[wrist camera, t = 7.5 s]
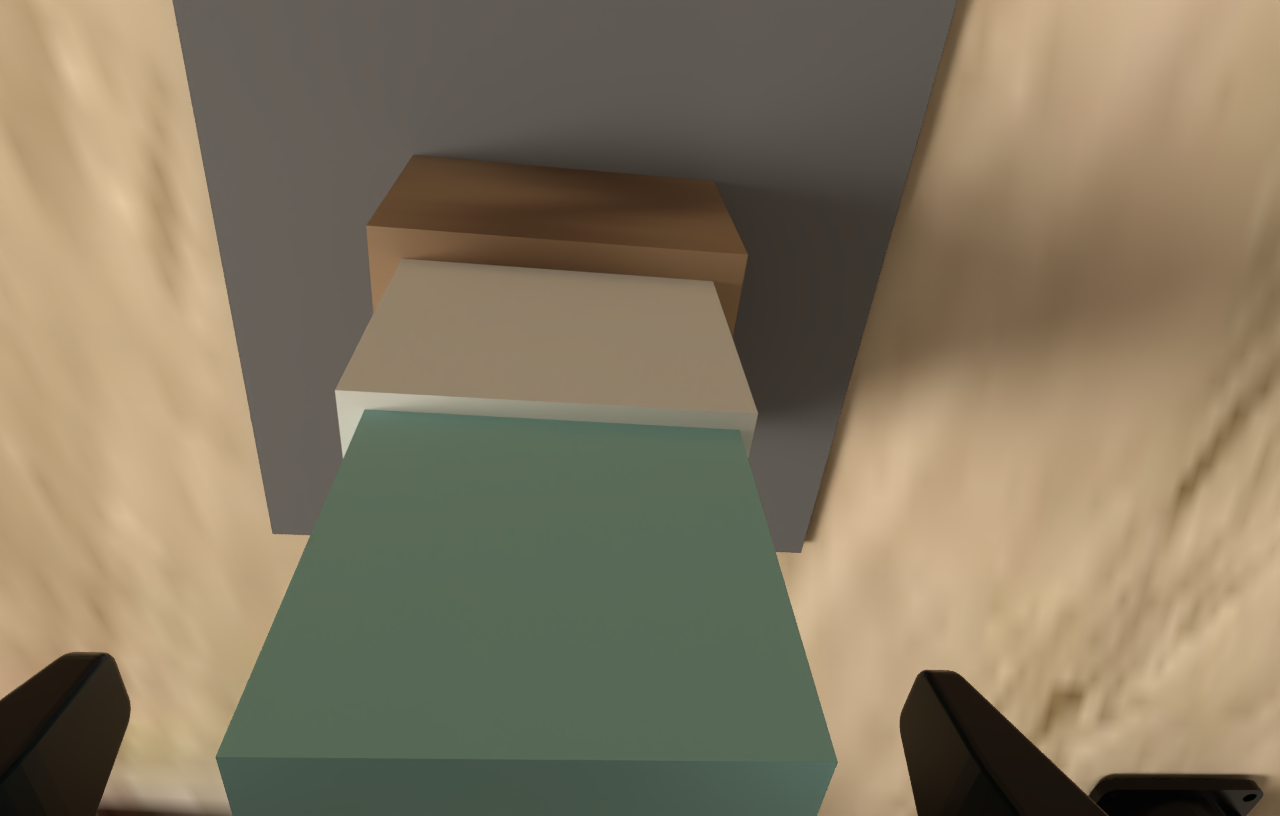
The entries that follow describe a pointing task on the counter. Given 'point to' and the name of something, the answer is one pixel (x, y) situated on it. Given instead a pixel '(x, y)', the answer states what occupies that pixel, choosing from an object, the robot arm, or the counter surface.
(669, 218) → the tower base
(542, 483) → the teal cube
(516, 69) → the mat
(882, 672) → the counter surface
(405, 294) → the tower mid
